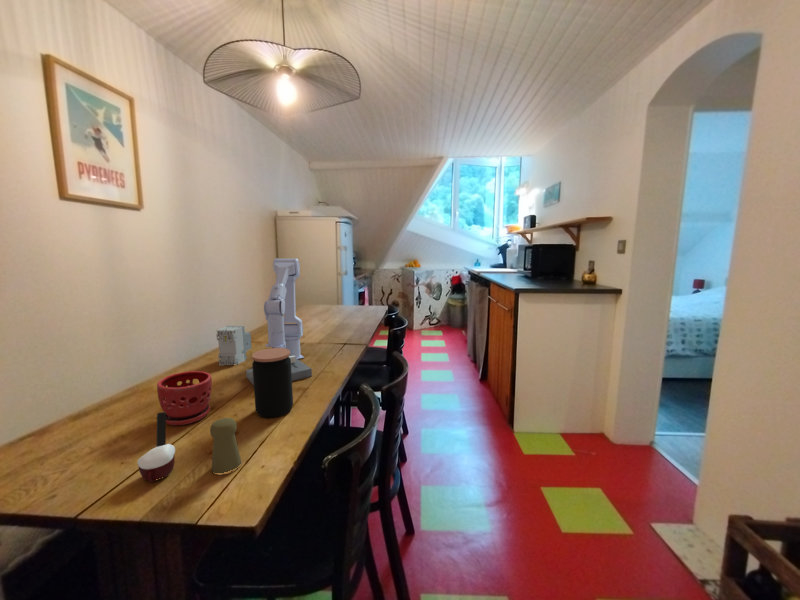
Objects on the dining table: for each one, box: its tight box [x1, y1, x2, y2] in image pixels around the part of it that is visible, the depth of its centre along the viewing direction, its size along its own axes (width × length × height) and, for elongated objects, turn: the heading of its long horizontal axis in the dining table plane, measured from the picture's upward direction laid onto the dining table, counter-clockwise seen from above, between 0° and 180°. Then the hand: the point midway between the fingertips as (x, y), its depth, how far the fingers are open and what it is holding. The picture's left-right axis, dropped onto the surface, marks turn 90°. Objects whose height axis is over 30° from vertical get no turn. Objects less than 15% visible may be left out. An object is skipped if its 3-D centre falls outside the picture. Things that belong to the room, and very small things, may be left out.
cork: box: [209, 417, 242, 473], centre depth 75 cm, size 6×6×11 cm
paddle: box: [289, 356, 296, 363], centre depth 133 cm, size 2×3×2 cm, turn 128°
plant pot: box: [156, 370, 213, 426], centre depth 96 cm, size 13×13×12 cm
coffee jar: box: [251, 347, 294, 419], centre depth 100 cm, size 11×11×18 cm
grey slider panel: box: [245, 359, 313, 387], centre depth 127 cm, size 14×20×3 cm
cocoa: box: [137, 411, 176, 483], centre depth 72 cm, size 10×6×12 cm, turn 174°
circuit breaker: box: [215, 325, 252, 366], centre depth 146 cm, size 8×14×15 cm, turn 174°
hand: (278, 366), depth 128 cm, fingers closed
